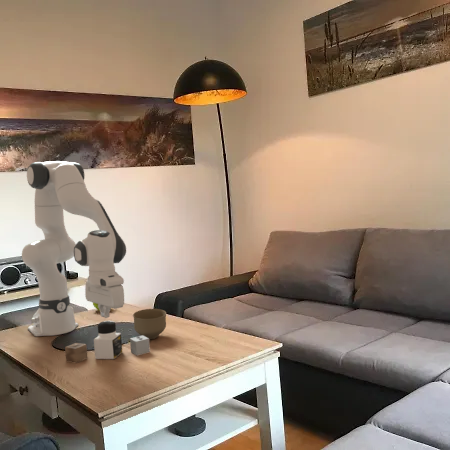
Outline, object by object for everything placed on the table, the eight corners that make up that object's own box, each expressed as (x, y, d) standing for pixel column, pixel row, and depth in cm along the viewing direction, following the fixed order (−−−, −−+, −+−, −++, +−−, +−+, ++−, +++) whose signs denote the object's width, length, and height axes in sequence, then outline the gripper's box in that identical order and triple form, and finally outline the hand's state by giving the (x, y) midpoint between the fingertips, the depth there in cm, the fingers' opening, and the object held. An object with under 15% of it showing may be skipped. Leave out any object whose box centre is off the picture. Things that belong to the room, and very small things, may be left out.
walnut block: (66, 361, 169) (65, 346, 169) (77, 356, 174) (76, 342, 173) (76, 363, 167) (75, 348, 166) (87, 358, 171) (86, 343, 171)
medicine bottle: (114, 359, 168) (111, 325, 167) (94, 359, 169) (92, 325, 168) (122, 352, 175) (120, 319, 174) (104, 352, 176) (101, 319, 175)
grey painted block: (131, 352, 175) (129, 337, 174) (143, 348, 178) (142, 334, 177) (136, 355, 171) (135, 341, 170) (149, 352, 173) (148, 337, 173)
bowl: (144, 345, 181) (142, 319, 180) (129, 338, 191) (127, 312, 190) (173, 337, 188) (172, 312, 187) (158, 330, 198) (156, 306, 198)
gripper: (79, 276, 175) (82, 314, 176) (109, 282, 161) (112, 324, 162) (95, 273, 180) (98, 310, 181) (126, 279, 165) (129, 319, 166)
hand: (105, 317), depth 171 cm, fingers closed
